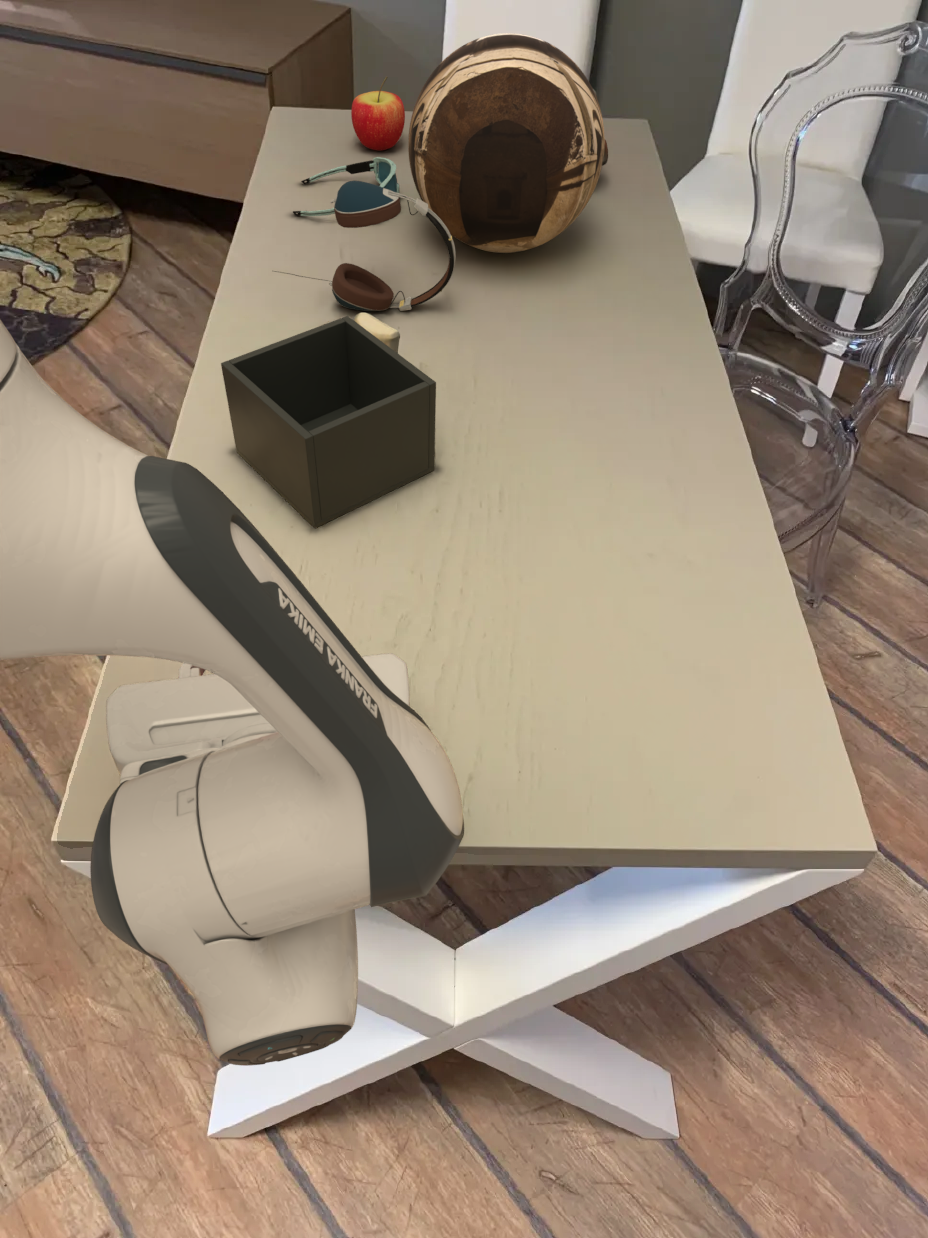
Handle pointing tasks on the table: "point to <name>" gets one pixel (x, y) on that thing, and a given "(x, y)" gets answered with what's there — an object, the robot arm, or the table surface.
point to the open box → (331, 418)
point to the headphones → (372, 207)
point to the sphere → (506, 142)
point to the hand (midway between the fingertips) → (258, 632)
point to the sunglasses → (380, 166)
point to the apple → (378, 119)
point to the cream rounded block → (379, 330)
